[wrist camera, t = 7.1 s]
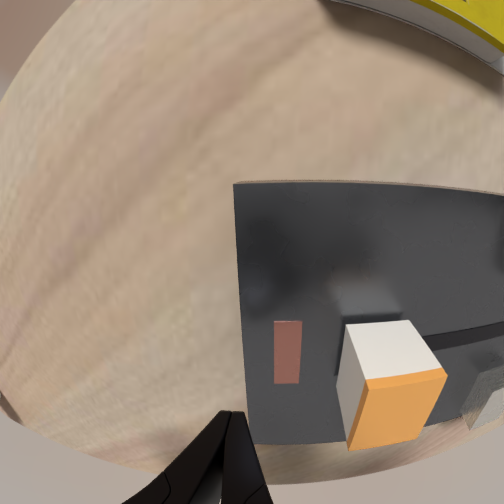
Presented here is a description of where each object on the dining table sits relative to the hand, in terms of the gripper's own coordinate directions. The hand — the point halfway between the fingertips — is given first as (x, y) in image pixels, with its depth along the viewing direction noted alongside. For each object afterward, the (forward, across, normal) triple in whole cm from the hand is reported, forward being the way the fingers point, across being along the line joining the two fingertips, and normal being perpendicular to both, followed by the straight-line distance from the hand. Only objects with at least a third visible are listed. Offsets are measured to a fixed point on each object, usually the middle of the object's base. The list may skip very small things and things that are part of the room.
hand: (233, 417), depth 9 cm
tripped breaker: (+4, -6, 0) cm, 7 cm away
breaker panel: (+6, -10, 0) cm, 12 cm away
